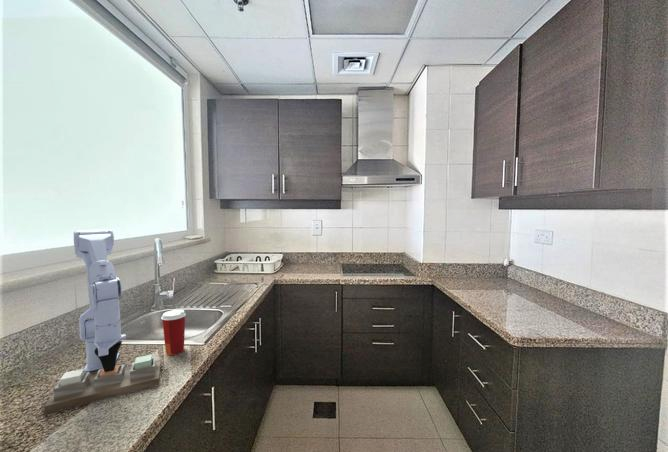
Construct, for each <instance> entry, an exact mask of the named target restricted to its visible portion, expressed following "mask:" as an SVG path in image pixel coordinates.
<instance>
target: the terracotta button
mask: <svg viewBox="0 0 668 452" xmlns="http://www.w3.org/2000/svg"><path fill="white" fill-rule="evenodd" d="M120 365H121V364H117V365H115V368H114V370H113V371H108V372H105V371H104V369H102V371H101V373H100V375H99V378H100V377H105V376H109V375H114V374H118V373H119V372H120Z"/></svg>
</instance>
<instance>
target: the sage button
mask: <svg viewBox="0 0 668 452" xmlns="http://www.w3.org/2000/svg"><path fill="white" fill-rule="evenodd" d="M152 358H153V354H147V355H142V356H138V357H135V359H134V362H135V364H134V365H135V370H136V369H141V368H145V367H149V366H152Z"/></svg>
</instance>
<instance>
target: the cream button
mask: <svg viewBox="0 0 668 452" xmlns="http://www.w3.org/2000/svg"><path fill="white" fill-rule="evenodd" d="M84 373H85V372H84V368H80V369H76V370H70V371H65V372H64V373H63V375H62V376H61V378H60V379H59V381H60V386H65V385H69V384H74V383H78V382H82V380H83V379H84V377H85V376H84Z"/></svg>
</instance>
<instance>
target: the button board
mask: <svg viewBox="0 0 668 452" xmlns="http://www.w3.org/2000/svg"><path fill="white" fill-rule="evenodd" d="M161 363H162V362H161V359H159V360H157V357H152V366H149V367H145V368H141V369H136V370H135V365H134V364H135V361H133V362H132V363H131V366H126V367H125V363H123V364H119V365H120V372H119V373H118V374H114V375H109V376H105V377H100V378H99V375H100V373H101V371H102V369H98V371H97V372H96V373H94V374H91V371H89V372H84V376H85V377H84V379H83V380H82V382H78V383H74V384H69V385H65V386H60V380H59V381H58V382H57V384H56V385H55V387H54V388H53V393H52V394H51V396H50V397H49V399H48V400H47V401H46V403H45V405H44V407H43V408H44V414H45V415H46V414H51V413H54V412H55V413H56V412H59V411H63V410H68V409H70V408H74V407H78V406H82V405H86V404H90V403H94V402H97V401H98V402H99V401H102V400H105V399H106V400H107V399H110V398H114V397H117V395H118V396H122V395H125V394H130V393H133V392H139V391H142V390H144V389H149V388H155V387H157V386H160V379H161V365H162V364H161Z"/></svg>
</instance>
